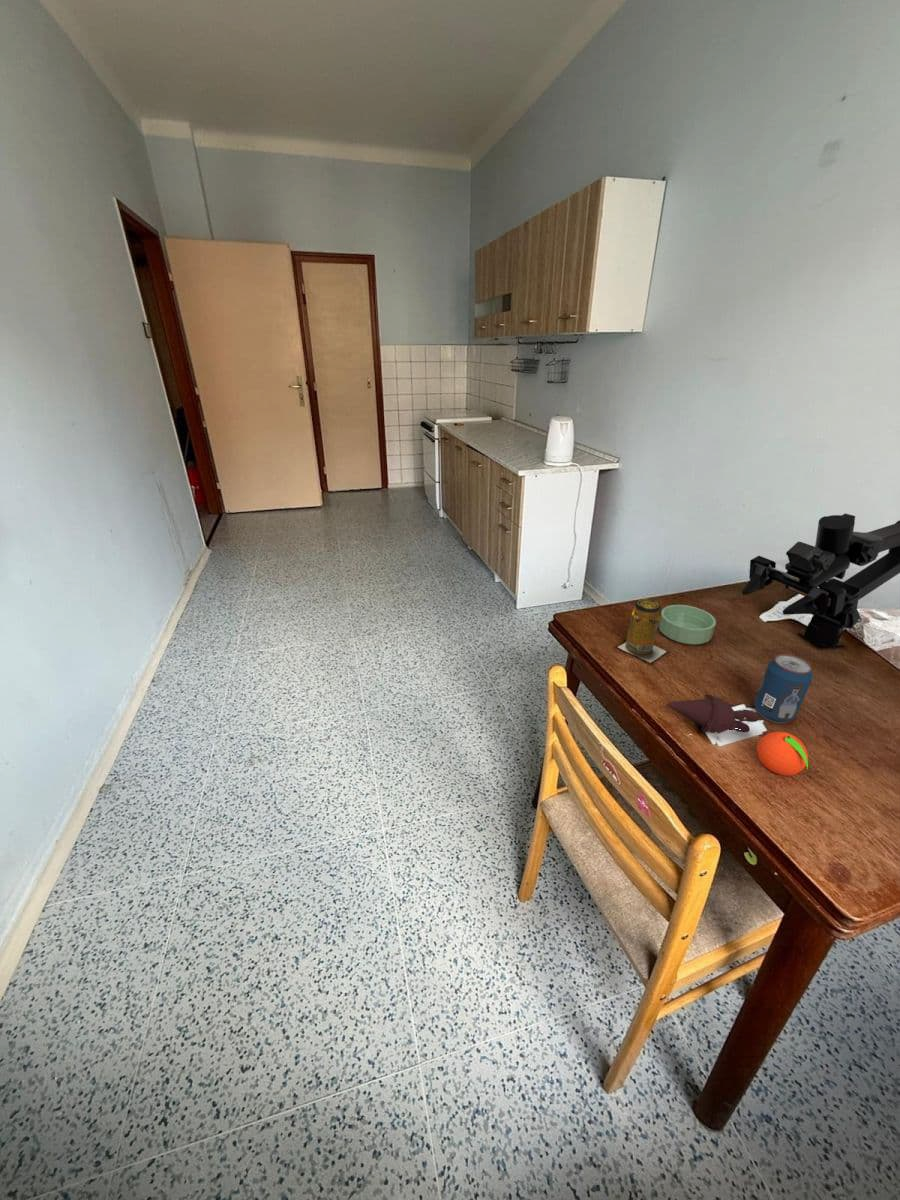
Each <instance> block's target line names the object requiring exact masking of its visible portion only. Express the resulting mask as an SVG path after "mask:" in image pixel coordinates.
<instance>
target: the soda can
mask: <svg viewBox="0 0 900 1200" xmlns="http://www.w3.org/2000/svg"><path fill="white" fill-rule="evenodd" d="M812 670H813V666H812V665H811V663H810V662H808V661H807V660H806V659H804V658H802V657H799V656H796V655H793V654H787V653H781V654H777V655H775V657H774V659H772V660H771V661H769V663H768V665H767V667H766V670H765V672H764V675H763V678H762V681H761V683H760V685H759V688H758V690H757V694H756V696H755V699H754V705H755V709H756V711H757V712H756V713H757V714H758V715H760V716H761V717H762V718H764V719H765V720H767V721H770V722H772V723H776V724H787V723H789V722H792V721H794V720H795V719H796V718H797V716H798V714H799V711H800V709H801V706H802V704H803V702H804V700H805V697H806V695H807V692H808V690H809V689H810V688H809V687H810V686H811V683H812V680H813V679H814V676H813V672H812Z"/></svg>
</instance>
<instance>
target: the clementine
mask: <svg viewBox="0 0 900 1200" xmlns="http://www.w3.org/2000/svg"><path fill="white" fill-rule="evenodd" d="M756 747H757V748H756V750H757V752H756V753H757V756H758V758H759V761H760V762H761V764H762V765H763V766H764V767H765V768H766V769H767V770H769V771H771V772H772V773H775V774H778V775H781V776H793V775H794V776H795V775H796V774H799V773H801V772H802V771H803V770H804V769H805V768H806V769H809V768H808V767H809V763H808V760H809V754H808V750H807V748H806V746H805V744H804V743H803V741H802V740H800V739H799V738H798V737H796V736H795V735H793V734H792V733H789V732H784V731H773V732H769V733H766V734H765V735H763V736H762V737H761V738H760V740H759V741H758V744H757V746H756Z"/></svg>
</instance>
